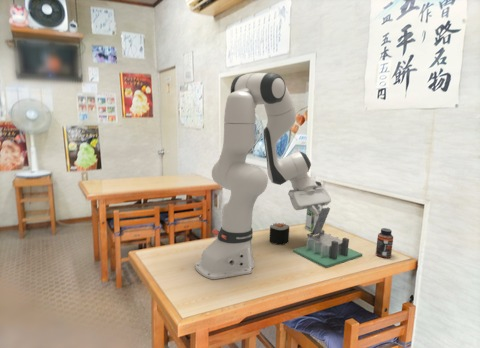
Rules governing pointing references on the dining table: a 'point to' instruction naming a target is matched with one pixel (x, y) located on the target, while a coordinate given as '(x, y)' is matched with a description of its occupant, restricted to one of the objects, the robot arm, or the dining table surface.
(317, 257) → the circuit board
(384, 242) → the supplement bottle
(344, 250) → the posts
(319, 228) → the steel strap
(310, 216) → the syrup box
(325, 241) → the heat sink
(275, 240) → the sushi
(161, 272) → the dining table surface
